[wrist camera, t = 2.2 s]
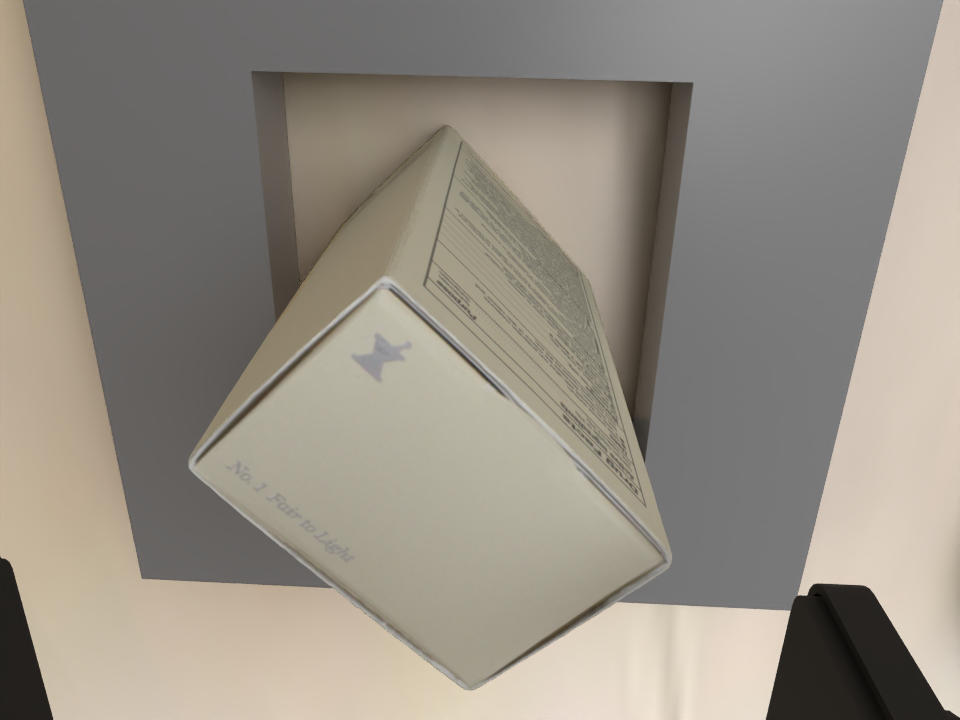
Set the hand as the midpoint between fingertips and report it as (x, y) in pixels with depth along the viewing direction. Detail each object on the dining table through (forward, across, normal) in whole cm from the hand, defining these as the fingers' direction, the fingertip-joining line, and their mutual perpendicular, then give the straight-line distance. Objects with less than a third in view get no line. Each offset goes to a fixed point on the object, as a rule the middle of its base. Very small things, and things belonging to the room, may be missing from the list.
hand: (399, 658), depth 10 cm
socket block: (+14, 0, -1) cm, 14 cm away
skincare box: (+14, 0, -1) cm, 15 cm away
